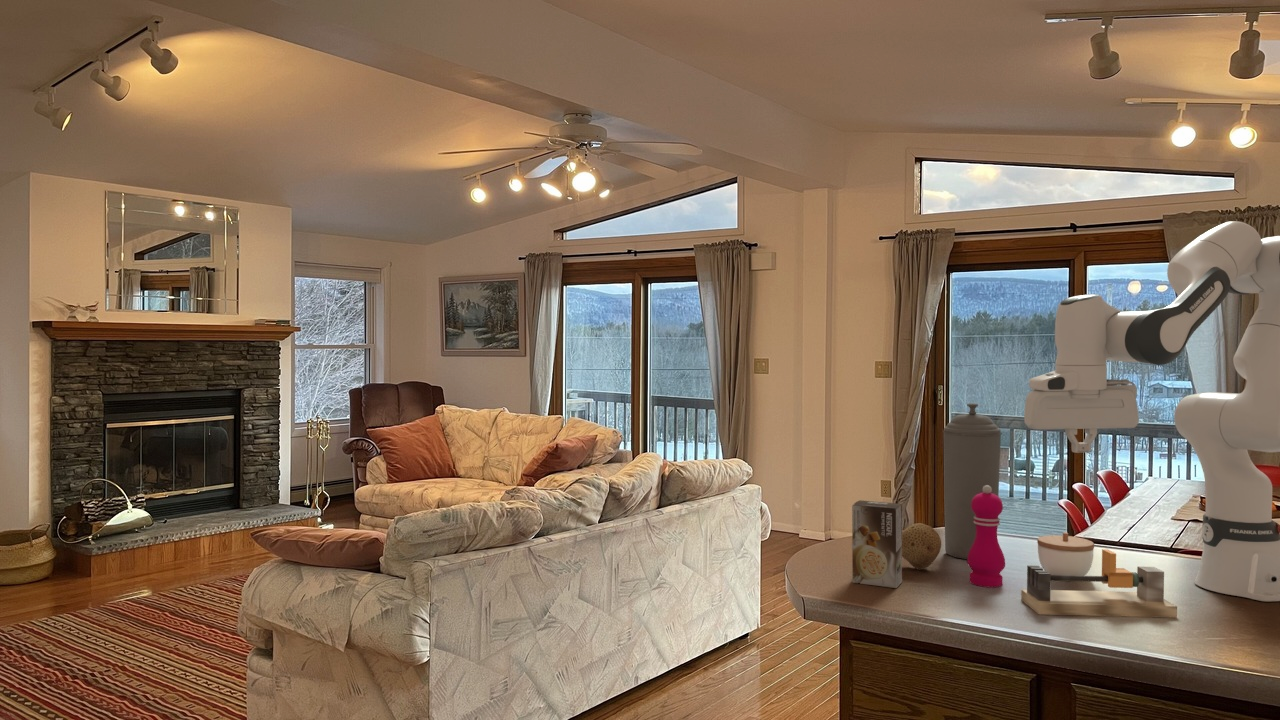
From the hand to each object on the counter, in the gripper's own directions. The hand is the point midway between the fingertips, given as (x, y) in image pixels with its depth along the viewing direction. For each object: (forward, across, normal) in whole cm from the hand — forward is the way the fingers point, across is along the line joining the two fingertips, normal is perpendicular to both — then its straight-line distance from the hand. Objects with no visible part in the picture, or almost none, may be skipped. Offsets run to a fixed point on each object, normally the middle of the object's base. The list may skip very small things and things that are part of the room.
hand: (1081, 452), depth 171 cm
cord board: (+28, 0, +7) cm, 29 cm away
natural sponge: (+28, +26, -20) cm, 43 cm away
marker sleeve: (+24, -3, +7) cm, 25 cm away
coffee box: (+28, +37, -9) cm, 47 cm away
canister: (+28, +11, -33) cm, 45 cm away
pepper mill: (+28, +15, -10) cm, 33 cm away
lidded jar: (+29, -3, -15) cm, 32 cm away
